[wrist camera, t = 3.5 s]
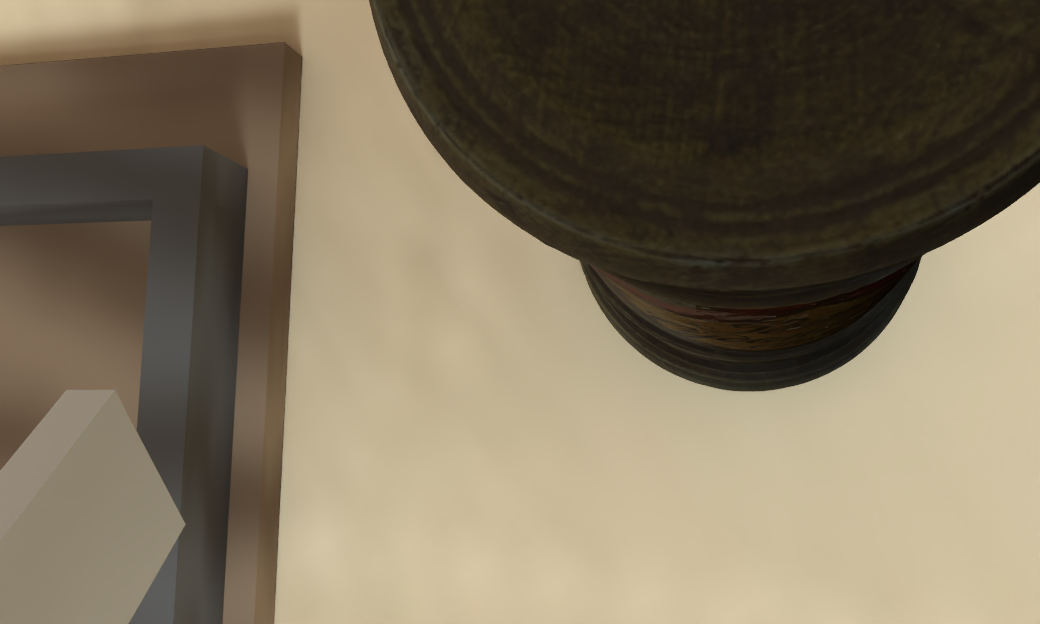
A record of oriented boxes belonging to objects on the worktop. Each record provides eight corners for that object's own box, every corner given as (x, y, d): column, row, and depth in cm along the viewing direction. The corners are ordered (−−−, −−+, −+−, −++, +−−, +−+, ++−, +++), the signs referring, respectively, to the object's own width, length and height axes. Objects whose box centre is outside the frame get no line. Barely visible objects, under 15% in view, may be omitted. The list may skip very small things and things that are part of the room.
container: (538, 163, 28) (207, -268, 11) (824, 25, 27) (967, -726, 9) (660, 445, 26) (496, 461, 9) (974, 312, 25) (1497, 31, 8)
